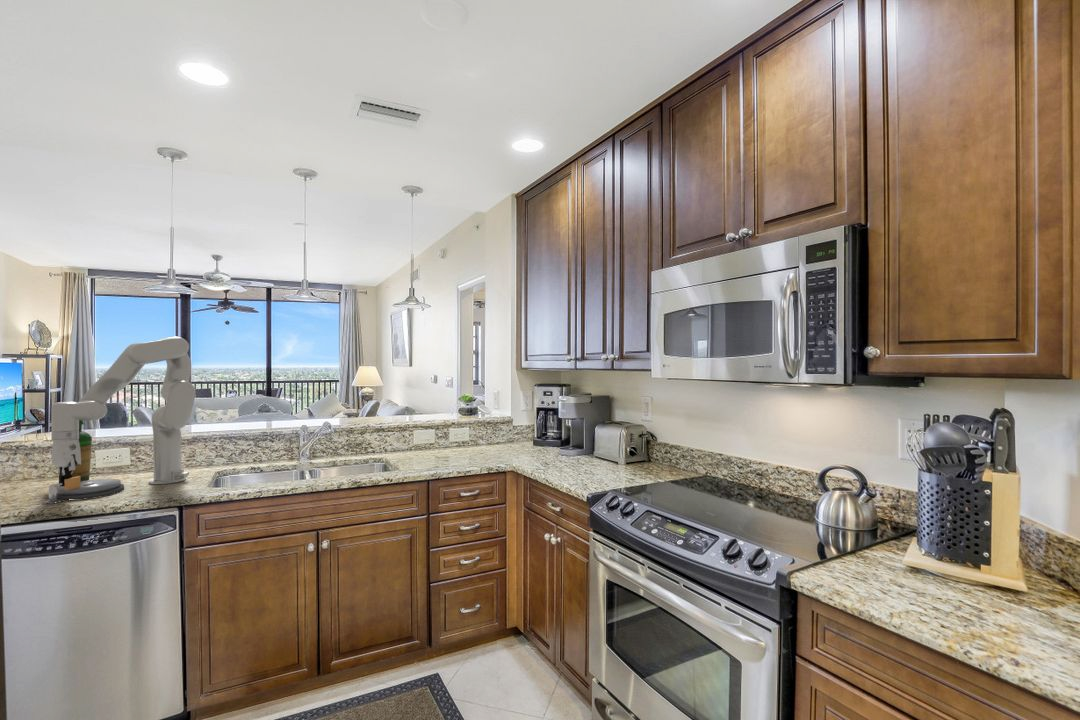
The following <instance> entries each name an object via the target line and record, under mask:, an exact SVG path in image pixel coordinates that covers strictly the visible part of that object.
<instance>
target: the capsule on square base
mask: <svg viewBox="0 0 1080 720" xmlns="http://www.w3.org/2000/svg"><path fill="white" fill-rule="evenodd" d="M59 485H62V483H59V482H58V483H55V484H51V485H49V486H48V500H44V501H42V503H55V502H59V501H63V500H64V499H58V486H59ZM63 502H64V501H63Z"/></svg>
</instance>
